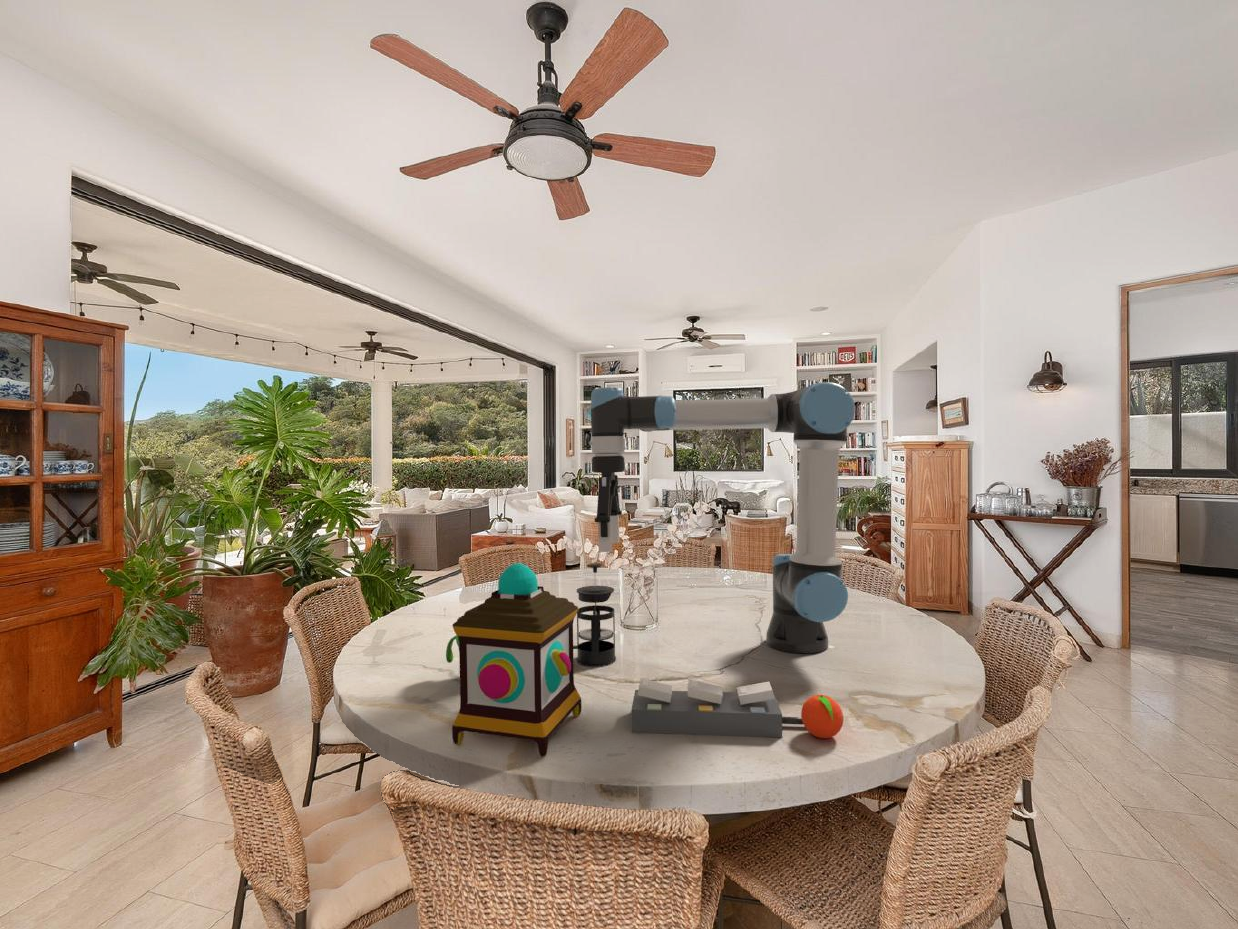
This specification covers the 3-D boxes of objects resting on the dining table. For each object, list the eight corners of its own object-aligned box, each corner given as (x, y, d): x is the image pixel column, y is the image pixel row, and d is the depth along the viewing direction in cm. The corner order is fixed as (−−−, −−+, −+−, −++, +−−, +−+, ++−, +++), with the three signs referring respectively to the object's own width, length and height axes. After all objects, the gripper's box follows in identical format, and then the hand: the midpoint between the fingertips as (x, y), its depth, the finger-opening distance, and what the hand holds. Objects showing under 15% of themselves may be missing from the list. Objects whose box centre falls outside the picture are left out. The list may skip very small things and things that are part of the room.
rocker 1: (670, 693, 112) (672, 684, 112) (670, 702, 108) (672, 693, 108) (639, 686, 113) (640, 677, 113) (637, 694, 109) (639, 685, 109)
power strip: (807, 715, 112) (807, 692, 112) (818, 738, 103) (817, 713, 103) (635, 710, 115) (635, 688, 115) (631, 732, 107) (631, 708, 106)
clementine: (853, 748, 100) (853, 705, 100) (813, 750, 99) (812, 707, 99) (832, 726, 108) (832, 686, 108) (795, 728, 107) (794, 688, 107)
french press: (618, 653, 149) (617, 560, 148) (618, 666, 139) (617, 567, 139) (571, 653, 149) (570, 560, 148) (567, 667, 139) (566, 568, 139)
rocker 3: (771, 690, 110) (768, 680, 110) (774, 698, 106) (772, 689, 106) (738, 695, 111) (736, 686, 111) (740, 704, 107) (738, 695, 107)
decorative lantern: (497, 701, 121) (494, 552, 120) (591, 712, 115) (588, 555, 114) (440, 749, 101) (436, 571, 101) (549, 765, 96) (546, 576, 95)
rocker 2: (719, 695, 111) (721, 686, 111) (720, 704, 107) (722, 694, 107) (687, 687, 112) (689, 678, 112) (687, 696, 108) (689, 686, 108)
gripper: (600, 455, 152) (602, 539, 153) (581, 455, 128) (583, 556, 128) (630, 454, 151) (631, 539, 152) (617, 455, 127) (618, 556, 127)
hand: (609, 547), depth 140 cm, fingers open, 13 cm apart
